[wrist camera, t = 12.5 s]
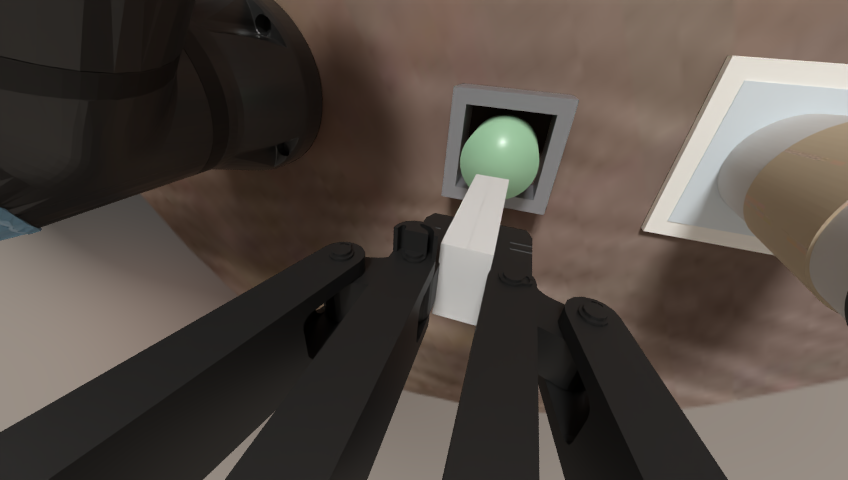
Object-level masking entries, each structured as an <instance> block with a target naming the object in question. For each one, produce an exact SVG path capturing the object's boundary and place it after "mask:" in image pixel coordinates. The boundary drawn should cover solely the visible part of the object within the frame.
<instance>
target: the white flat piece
mask: <svg viewBox="0 0 848 480" xmlns="http://www.w3.org/2000/svg"><path fill="white" fill-rule="evenodd" d="M804 114H832V115H846V116H848V64H838V63H825V62H811V61H798V60H784V59H770V58H757V57H743V56H727V58H726V60H725V62H724V64H723V66H722V68H721V70H720V72H719V74H718V76H717V78H716V80H715V82H714V84H713V86H712V88H711V90H710V92H709V94H708V96H707V98H706V100H705V102H704V104H703V106H702V108H701V110H700V112H699V114H698V116H697V118H696V120H695V122H694V124H693V126H692V127H691V129H690V131H689V133H688V135H687V137H686V139H685V141H684V143H683V145H682V147H681V149H680V151H679V153H678V155H677V157H676V159H675V161H674V163H673V165H672V167H671V169H670V171H669V173H668V175H667V177H666V179H665V181H664V183H663V185H662V187H661V189H660V191H659V193H658V195H657V197H656V199H655V201H654V203H653V205H652V207H651V209H650V211H649V213H648V215H647V217H646V219H645V221H644V223H643V225H642V227H641V228H642V230H643V231H647V232H652V233H657V234H663V235H668V236H673V237H679V238H684V239H689V240H695V241H700V242H706V243H711V244H716V245H722V246H727V247H732V248H738V249H743V250H748V251H754V252H759V253H765V254H770V255H774V254H773V253H772V252H771V251H770V250H769V249H768V248H767V247H766V246H765V245H764V244H763V243H762V242H761V241H760V240H759V239H758V238H757V237H756V236H755V235H754V234H753V233H752V232H751V231H750V229H749V228H748V226H747V224H746V222H745V221H744V220H743V219H741V218H740V217H739V216H738V215H737V214H736V213H735V212H734V211H733V210H732V209H731V208H730V207H729V206H728V205H727V204H726V203H725V202H724V201H723V199H722V198H721V196H720V194H719V191H718V186H717V180H718V174H719V171H720V168H721V166H722V164H723V162H724V161H725V159H726V158H727V156H728V155H729V154H730V152H731V151H732V150H733V149H734V148H735V147H736V146H737V145H738V144H739V143H740V142H742V141H743V140H744V139H745V138H747V137H748V136H750V135H751V134H753V133H754V132H756V131H757V130H759V129H761V128H763V127H765V126H767V125H769V124H772V123H774V122H776V121H779V120H782V119H785V118H789V117H793V116H798V115H804Z"/></svg>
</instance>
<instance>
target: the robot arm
mask: <svg viewBox="0 0 848 480" xmlns="http://www.w3.org/2000/svg"><path fill="white" fill-rule="evenodd" d="M321 115H322V93H321V85H320V80H319V75H318V71H317V68H316V64H315V62H314V59H313V56H312V54H311V51H310V49H309V47H308V45H307V43H306V41H305V39H304V37H303V35H302V34H301V32H300V31H299V29H298V27H297V26H296V25H295V23H294V22H293V20H292V19H291V18H290V17H289V15H288V14H287V13H286V12H285V11H284V10H283V9H282V8H281V7H280V6H279V5H278V4H277V3H276V2H275V1H274V0H0V241H1V240H4V239H8V238H13V237H17V236H20V235H24V234H32V233H35V232H39V231H41V230H42V229H41V227H43V226H46V225H49V224H52V223H55V222H58V221H61V220H64V219H67V218H70V217H73V216H76V215H78V214H82V213H84V212H87V211H90V210H93V209H96V208H99V207H102V206H105V205H108V204H111V203H114V202H117V201H119V200H122V199H125V198H128V197H131V196H134V195H137V194H140V193H143V192H146V191H149V190H152V189H155V188H158V187H161V186H164V185H166V184H169V183H172V182H175V181H178V180H181V179H184V178H187V177H190V176H193V175H195V174H198V173H201V172H204V171H207V170H211V169H224V170H269V169H274V168H277V167H280V166H283V165H285V164H287V163H290V162H292V161H294V160H296V159H298V158H299V157H301V156H302V155H303V154H304V153H305V152H306V151H307V150H308V149H309V148H310V146H311V145H312V143H313V142H314V140H315V138H316V135H317V133H318V130H319V126H320V121H321ZM508 183H509V179H503V178H497V177H491V176H485V175H479V174H476V176H475V177H474V179H473V181H472V183H471V185H470V187H469V189H468V191H467V193H466V195H465V197H464V199H463V201H462V203H461V205H460V207H459V209H458V211H457V213H456V215H455V217H452V216H447V215H442V214H437V213H434V214H432V215H430V216H428V217H426V219H425V220H424V222H421V221H405V222H402V223H399V224H397V225H396V226H395V227H394V240H393V252H392V253H391V255H390V256H389V257H386V258H370V257H365V251H364V250H363V248H362V247H361V246H359V245H357V244H354V243H350V242H339V243H333V244H330V245H328V246H325V247H324V248H322V249H320V250H318V251H317V252H315V253H313V254H311V255H310V256H308V257H306V258H304V259H303V260H301V261H299V262H297V263H296V264H294V265H292V266H290V267H289V268H287V269H285V270H283V271H282V272H280V273H278V274H276V275H275V276H273V277H271V278H269V279H268V280H266V281H264V282H262V283H261V284H259V285H257V286H255V287H254V288H252V289H250V290H248V291H247V292H245V293H243V294H241V295H240V296H238V297H236V298H234V299H233V300H231V301H229V302H227V303H226V304H224V305H222V306H220V307H219V308H217V309H215V310H213V311H212V312H210V313H208V314H206V315H205V316H203V317H201V318H199V319H198V320H196V321H194V322H192V323H191V324H189V325H187V326H185V327H184V328H182V329H180V330H178V331H177V332H175V333H173V334H171V335H170V336H168V337H166V338H164V339H163V340H161V341H159V342H157V343H156V344H154V345H152V346H150V347H149V348H147V349H145V350H143V351H142V352H140V353H138V354H137V355H135V356H133V357H131V358H129V359H128V360H126V361H124V362H122V363H121V364H119V365H117V366H115V367H114V368H112V369H110V370H108V371H107V372H105V373H103V374H101V375H100V376H98V377H96V378H94V379H93V380H91V381H89V382H87V383H86V384H84V385H82V386H80V387H79V388H77V389H75V390H73V391H72V392H70V393H68V394H66V395H65V396H63V397H61V398H59V399H58V400H56V401H54V402H52V403H51V404H49V405H47V406H45V407H44V408H42V409H40V410H38V411H37V412H35V413H33V414H31V415H30V416H28V417H26V418H24V419H23V420H21V421H19V422H17V423H16V424H14V425H12V426H10V427H9V428H7V429H5V430H4V431H2V432H0V480H203V479H204V478H205V477H206V476H207V475H208V474H209V473H210V472H211V471H212V470H214V469H215V468H216V467H217V466H218V465H219V464H220V463H221V462H222V461H223V460H224V459H225V458H226V457H227V456H228V455H229V454H230V453H231V452H232V451H234V450H235V448H237V447H238V446H239V445H240V444H241V443H242V442H243V441H244V440H245V439H246V438H247V437H248V436H249V435H250V434H251V433H252V432H253V431H254V430H256V429H257V428H258V427H259V426H260V425H261V424H262V423H263V422H264V421H265V420H266V419H267V418H268V417H269V416H270V415H271V414H272V413H273V412H274V411H275V412H274V414H273V415H272V416H271V418H270V419H269V420H268V422H267V423H266V424H265V426H264V427H263V428H262V430H261V431H260V432H259V434H258V435H257V437H256V438H255V439H254V441H253V442H252V444H251V445H250V446H249V447H248V449H247V450H246V452H245V453H244V454H243V456H242V457H241V458H240V460H239V461H238V462H237V464H236V465H235V466H234V468H233V469H232V471H231V472H230V473H229V475H228V476H227V477H226V479H225V480H367V479H368V476H369V474H370V471H371V468H372V466H373V463H374V461H375V458H376V456H377V453H378V451H379V448H380V446H381V443H382V441H383V438H384V435H385V433H386V431H387V428H388V425H389V423H390V420H391V418H392V415H393V413H394V410H395V408H396V405H397V403H398V400H399V398H400V395H401V392H402V390H403V388H404V385H405V383H406V380H407V377H408V375H409V372H410V370H411V367H412V365H413V362H414V360H415V357H416V355H417V352H418V350H419V347H420V345H421V342H422V340H423V337H424V334H425V332H426V329H427V327H428V322H429V314H430V311H431V309H432V306H433V312H432V314H435V315H439V316H443V317H446V318H450V319H454V320H457V321H461V322H464V323H468V324H472V325H475V326H476V329H475V333H474V338H473V342H472V346H471V351H470V356H469V360H468V365H467V369H466V374H465V378H464V383H463V387H462V392H461V396H460V401H459V406H458V410H457V415H456V419H455V424H454V428H453V433H452V437H451V442H450V446H449V451H448V455H447V460H446V464H445V469H444V474H443V478H442V480H539V427H538V426H539V419H538V418H539V416H538V385H539V389H540V392H541V396H542V399H543V403H544V406H545V410H546V414H547V417H548V421H549V424H550V428H551V431H552V435H553V439H554V442H555V446H556V449H557V453H558V456H559V460H560V463H561V467H562V470H563V474H564V477H565V480H728V479H727V478H726V476H725V475H724V473H723V472H722V470H721V469H720V467H719V466H718V464H717V462H716V461H715V459H714V458H713V457H712V455H711V454H710V452H709V450H708V449H707V447H706V446H705V444H704V443H703V441H702V440H701V439H700V437H699V436H698V434H697V432H696V431H695V429H694V428H693V426H692V425H691V423H690V422H689V420H688V419H687V418H686V416H685V414H684V413H683V411H682V410H681V408H680V407H679V405H678V404H677V402H676V401H675V399H674V398H673V396H672V395H671V393H670V392H669V390H668V389H667V387H666V386H665V384H664V383H663V381H662V380H661V378H660V377H659V375H658V374H657V372H656V371H655V369H654V368H653V366H652V365H651V363H650V362H649V360H648V359H647V357H646V356H645V354H644V353H643V351H642V350H641V348H640V347H639V345H638V344H637V342H636V341H635V339H634V338H633V336H632V334H631V333H630V331H629V330H628V328H627V327H626V325H625V324H624V322H623V321H622V319H621V318H620V317H619V316H618V315H617V314H616V312H615V311H614V310H612V309H611V308H609V307H608V306H607V305H605V304H603V303H601V302H599V301H597V300H594V299H590V298H586V297H573V298H571V299H569V300H567V302H566V304H562V303H560V302H558V301H556V300H554V299H552V298H550V297H548V296H546V295H545V294H543V293H542V292H541V291H539V289H538V288H537V284H536V281H535V279H534V277H533V276H532V238H531V236H530V235H529V233H528V232H527V231H526V230H521V229H516V228H511V227H506V226H501V225H500V222H501V218H502V213H503V208H504V203H505V198H506V193H507V188H508ZM323 303H324V306H323V307H322V308H321V309H319V310H317V311H316V309H317V308H318V307H319V306H321V305H322V304H323Z"/></svg>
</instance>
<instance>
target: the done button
mask: <svg viewBox="0 0 848 480" xmlns="http://www.w3.org/2000/svg"><path fill="white" fill-rule="evenodd" d="M538 167H539V150H538V140H537V136H536V133H535V131H534V129H533V128H532V126H531V125H530V124H529V123H528V122H527V121H526V120H524V119H523V118H521V117H519V116H516V115H512V114H500V115H496V116H493V117H491V118H489V119H487V120H486V121H484V122H483V123H482V124H481V125H480V126H479V127H478V128H477V129H476V130H475V132H474V133H473V134H472V135H471V137H470V138H469V139H468V140H467V142H466V143H465V145H464V147H463V150H462V153H461V157H460V168H461V173H462V176H463V178H464V180H465V182H466V184H467V185H468V186H469V187H470V185H471V183H472V181H473V179H474V177H475V176H476V174H479V175H485V176H491V177H497V178H503V179H509V183H508V188H507V193H506V198H505V199H509V198H512V197H515V196H517V195H519V194H520V193H522V192H523V191H524V190H526V189H527V188H528V187H529V186H530V184H531V183H532V182H533V180H534V178H535V176H536V174H537V171H538Z"/></svg>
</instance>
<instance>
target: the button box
mask: <svg viewBox="0 0 848 480" xmlns="http://www.w3.org/2000/svg"><path fill="white" fill-rule="evenodd" d="M578 103H579V99H577V98H576V97H575V96H574V95H568V94H559V93H550V92H540V91H531V90H521V89H512V88H503V87H493V86H484V85H475V84H465V83H463V84H460V85H456V86H454V89H453V98H452V107H451V116H450V125H449V134H448V143H447V152H446V161H445V169H444V178H443V187H442V196H445V197H450V198H456V199H461V200H463V199H464V197H465V195H466V193H467V191H468V189H469V186H468V185H467V184H466V182H465V180H464V178H463V176H462V173H461V168H460V157H461V153H462V150H463V147H464V145H465V143H466V142H467V140H468V138H469V131H470V124H471V117H472V110H473V105H478V106H486V107H495V108H503V109H511V110H520V111H528V112H536V113H544V114H553V115H552V119H551V122H550V126H549V130H548V133H547V137H546V141H545V144H544V148H543V152H542V155H541V159H540V163H539V167H538V171H537V174H536V177H535V181H534V185H531V184H530V186H529V187H528V188H527V189H526V190H524V191H523V192H522V193H520V194H519V195H517V196H515V197H512V198H509V199H505V203H504V208H509V209H514V210H519V211H525V212H530V213H535V214H541V215H544V213H545V209H546V206H547V203H548V200H549V196H550V193H551V190H552V187H553V184H554V180H555V177H556V174H557V171H558V167H559V164H560V161H561V158H562V154H563V151H564V148H565V145H566V141H567V138H568V135H569V132H570V128H571V125H572V122H573V119H574V115H575V112H576V109H577V106H578Z"/></svg>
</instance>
